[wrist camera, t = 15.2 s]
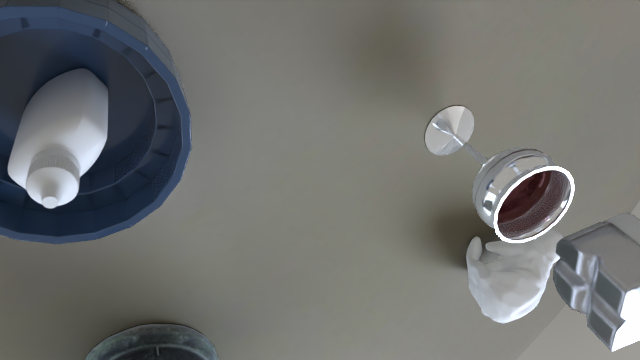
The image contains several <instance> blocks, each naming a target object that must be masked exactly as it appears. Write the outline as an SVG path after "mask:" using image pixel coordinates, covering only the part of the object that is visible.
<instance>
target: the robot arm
mask: <svg viewBox="0 0 640 360" xmlns="http://www.w3.org/2000/svg"><path fill="white" fill-rule="evenodd" d="M555 253H556V254H557V255H558V256H559V257H560V259H559V261H558V262H557V263H556V265H555V266H554V269H553V280H554V283H555V286H556V289H557V291H558V293H559V294H560V296H561V297H562V299H563V300H564V301H565V303H566V304H567V305H568V306H569V307H570V308H571V309H572V310H575V311H577V312H580V313H583V314H585V315H586V318H587V326H588V327H589V328H590V329H591V330H592V331H593V332H594V334H595V335H596V336H597V337H598V338H599V339H600V340H601V341H602V342H603V343H604V344H605V345H606V346H607V347H608V348H609V349H610V350H611V351H614V350H617V349H619V348H621V347H624V346H626V345H629V344H631V343H633V342H636V341H638V340H640V219H639V218H637V217H636V216H634V215H632V214H629V213H623V214H620V215H617V216H615V217H613V218H610V219H608V220H606V221H604V222H599V223H597V224H594V225H592V226H590V227H587V228H585V229H583V230H580V231H578V232H576V233H573V234H571V235H569V236H566V237H564V238H562V239H560V240H559V242H558V243H557V245H556V252H555Z"/></svg>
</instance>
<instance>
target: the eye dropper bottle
mask: <svg viewBox="0 0 640 360" xmlns="http://www.w3.org/2000/svg"><path fill="white" fill-rule="evenodd" d="M107 130H108V89H107V87H106V86H105V85H104V83H103V82H102V81H100V80H99V79H98V78H97V77H96V76H95V75H94V74H93V73H92V72H91V71H89V70H87V69H84V68H80V69H75V70H71V71H68V72H66V73H63V74H61V75H59V76H57V77H55V78H53V79H51V80H50V81H48V82H47V83H46V84H44V85H43V86H42V87H41V88H40V89H39V90H38V91H37V92H36V93H35V94H34V96H33V97H32V98H31V100H30V101H29V103H28V104H27V106H26V108H25V110H24V112H23V115H22V118H21V122H20V125H19V128H18V132H17V135H16V138H15V142H14V145H13V148H12V152H11V155H10V159H9V163H8V174H9V176H10V177H11V178H12V179H13V180H14V181H15V182H16V183H17V184H19V185H20V186H22V187H23V188H25V189H26V190H27V193H28V194H29V195H30V197H31V198H32V199H33V200H35V201H36V202H38V203H40V204H42V205H43V206H44V207H46V208H55V207H56V206H60V205H64V204H66V203H68V202H70V201H71V200H72V199H74V197H75V196H76V195H77V193H78V190H79V182H80V177H81V176H82V175H83V174H84V173H85V172H86V171H87V170H88V169H89V168H90V167H91V166H92V165H93V164H94V162H95V161H96V160H97V158H98V157H99V155H100V153H101V151H102V150H103V148H104V145H105V143H106V140H107Z"/></svg>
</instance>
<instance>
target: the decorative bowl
mask: <svg viewBox="0 0 640 360" xmlns="http://www.w3.org/2000/svg"><path fill="white" fill-rule="evenodd" d="M85 360H218V358H217V354H216V351H215V348H214V346H213V345H212V343H211V342H210V341H209V340H208V339H207V338H206V337H205V336H204V335H202V334H201V333H199V332H197V331H195V330H193V329H191V328H188V327H185V326H180V325H172V324H149V325H140V326H137V327H133V328H130V329H127V330H125V331H122V332H120V333H117V334H115V335H113V336H111V337H108V338H106V339H105V340H104V341H102V342H101V343H100V344H98V345H97V346H96V347H95V348H94V349H92V351H91V352H90V353H89V354H88V355H87V357H86V359H85Z"/></svg>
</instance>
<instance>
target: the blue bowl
mask: <svg viewBox="0 0 640 360" xmlns="http://www.w3.org/2000/svg"><path fill="white" fill-rule="evenodd" d="M80 68H84V69H87V70H89V71H91V72H92V73H93V74H94V75H95V76H96V77H97V78H98V79H99V80H100V81H102V82H103V83H104V85H105V86H106V87H107V89H108V130H107V140H106V143H105V145H104V148H103V150H102V151H101V153H100V155H99V157H98V158H97V160H96V161H95V162H94V164H93V165H92V166H91V167H90V168H89V169H88V170H87V171H86V172H85V173H84V174H83V175H82V176H81V177H80V182H79V190H78V193H77V195H76V196H75V197H74V199H72V200H71V201H70V202H68V203H66V204H64V205H60V206H56V207H55V208H46V207H44V206H43V205H42V204H40V203H38V202H36V201H35V200H33V199H32V198H31V197H30V195H29V194H28V193H27V190H26V189H25V188H23V187H22V186H20V185H19V184H17V183H16V182H15V181H14V180H13V179H12V178H11V177H10V176H9V174H8V163H9V159H10V155H11V152H12V148H13V145H14V142H15V138H16V135H17V132H18V128H19V125H20V122H21V118H22V115H23V112H24V110H25V108H26V106H27V104H28V103H29V101H30V100H31V98H32V97H33V96H34V94H35V93H36V92H37V91H38V90H39V89H40V88H41V87H42V86H43V85H44V84H46V83H47V82H48V81H50V80H51V79H53V78H55V77H57V76H59V75H61V74H63V73H66V72H68V71H71V70H75V69H80ZM191 147H192V141H191V116H190V110H189V107H188V103H187V100H186V96H185V93H184V90H183V86H182V83H181V79H180V77H179V74H178V72H177V69H176V67H175V65H174V62H173V60H172V57H171V55H170V52H169V50H168V48H167V47H166V46H165V45H164V43H163V42H162V41H161V40H160V39H159V37H158V36H157V35H156V34H155V33H154V31H153V30H152V29H151V28H150V27H149V25H148V24H147V23H146V22H145V21H144V20H143V19H142V18H141V17H139V16H138V15H136V14H135V13H133V12H132V11H130V10H129V9H127V8H125V7H124V6H122V5H121V4H119V3H118V2H116V1H115V0H0V235H2V236H5V237H8V238H11V239H15V240H22V241H31V242H41V243H50V244H63V243H71V242H80V241H88V240H96V239H99V238H102V237H105V236H107V235H110V234H113V233H115V232H118V231H121V230H123V229H126V228H129V227H131V226H133V225H135V224H136V223H137V222H139V221H140V220H142V219H143V218H144V217H146V216H147V215H149V214H150V213H152V212H153V211H154V210H156V209H157V208H159V207H160V205H162V204H163V202H164V201H165V200H166V198H167V197H168V196H169V194H170V193H171V192H172V191H173V189H174V188H175V187H176V185H177V184H178V183H179V181H180V180H181V179H182V176H183V173H184V170H185V167H186V164H187V161H188V158H189V155H190V151H191Z"/></svg>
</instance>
